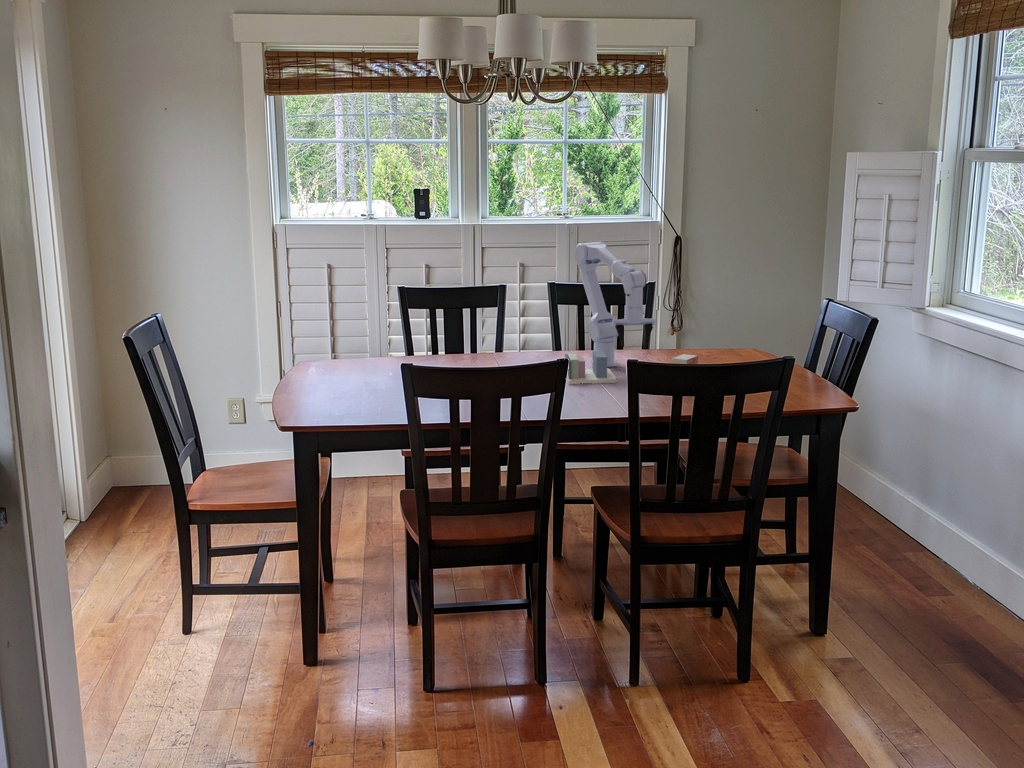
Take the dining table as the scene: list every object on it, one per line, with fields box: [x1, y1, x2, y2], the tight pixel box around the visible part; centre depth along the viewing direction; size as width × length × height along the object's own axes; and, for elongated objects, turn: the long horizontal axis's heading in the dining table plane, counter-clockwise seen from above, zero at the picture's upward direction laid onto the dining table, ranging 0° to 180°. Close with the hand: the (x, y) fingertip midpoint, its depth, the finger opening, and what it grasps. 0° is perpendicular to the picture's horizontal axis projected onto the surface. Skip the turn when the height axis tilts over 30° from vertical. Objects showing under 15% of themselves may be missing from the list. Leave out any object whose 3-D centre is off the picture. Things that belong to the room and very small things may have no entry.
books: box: [566, 352, 586, 379], centre depth 331 cm, size 10×5×6 cm, turn 3°
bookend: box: [564, 353, 571, 379], centre depth 331 cm, size 12×1×6 cm, turn 3°
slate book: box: [591, 350, 608, 378], centre depth 331 cm, size 10×4×7 cm, turn 3°
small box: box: [670, 353, 699, 365], centre depth 314 cm, size 8×6×10 cm
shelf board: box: [566, 367, 618, 385], centre depth 332 cm, size 16×16×1 cm
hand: (633, 346), depth 336 cm, fingers open, 7 cm apart
